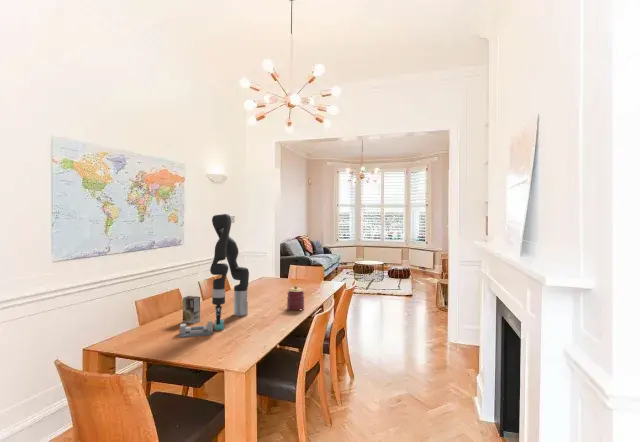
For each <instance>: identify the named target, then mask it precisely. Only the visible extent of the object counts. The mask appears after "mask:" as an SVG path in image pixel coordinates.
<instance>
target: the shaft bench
mask: <svg viewBox="0 0 640 442" xmlns="http://www.w3.org/2000/svg"><path fill="white" fill-rule="evenodd" d="M213 325H214V321H213V320H211V321H207V325H199V326H198V325H197V326H187V323H185V322H184V323H180V325H179V339H182V338H192V337H193V338H194V337H203V336H204V337H205V336H213V334H214V331H213V328H214V327H213Z"/></svg>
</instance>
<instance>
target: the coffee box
mask: <svg viewBox="0 0 640 442" xmlns="http://www.w3.org/2000/svg"><path fill="white" fill-rule="evenodd" d="M200 322H201V296H196V295H194V296H193V295H187V296H185V297H182V323H184V324H185V323H186V324H197V323H200Z"/></svg>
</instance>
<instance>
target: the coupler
mask: <svg viewBox="0 0 640 442" xmlns="http://www.w3.org/2000/svg"><path fill="white" fill-rule="evenodd" d="M214 322H215V323H214V330H215V331H223V330H225V327H224V326H225V320H224V318H222V319H221V318H220V324H219V325H217V324H216V319H215V320H214Z"/></svg>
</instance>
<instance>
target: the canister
mask: <svg viewBox="0 0 640 442" xmlns="http://www.w3.org/2000/svg"><path fill="white" fill-rule="evenodd" d="M286 300H287V301H286V302H287V305H286V308H287V309H286V310H288V309H289V310H288V311H292V310H299V311H301V310H300V309H303V308H304V309H305V292H304V289H303V288H302V287H298V285H294V287H290V288H289V289H288V292H287V297H286ZM304 309H303V310H304Z"/></svg>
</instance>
